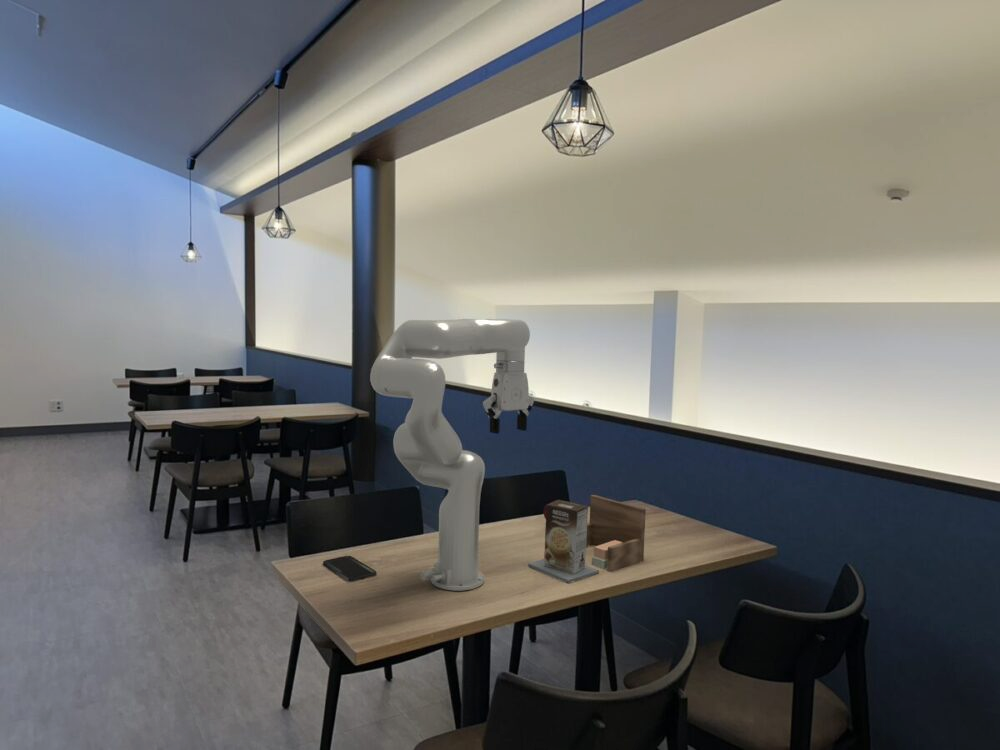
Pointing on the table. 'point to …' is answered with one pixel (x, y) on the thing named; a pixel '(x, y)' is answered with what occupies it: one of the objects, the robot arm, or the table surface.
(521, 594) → the table surface
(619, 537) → the rack
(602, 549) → the offcut upper
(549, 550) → the coffee box
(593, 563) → the offcut lower
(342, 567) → the phone
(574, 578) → the mat
